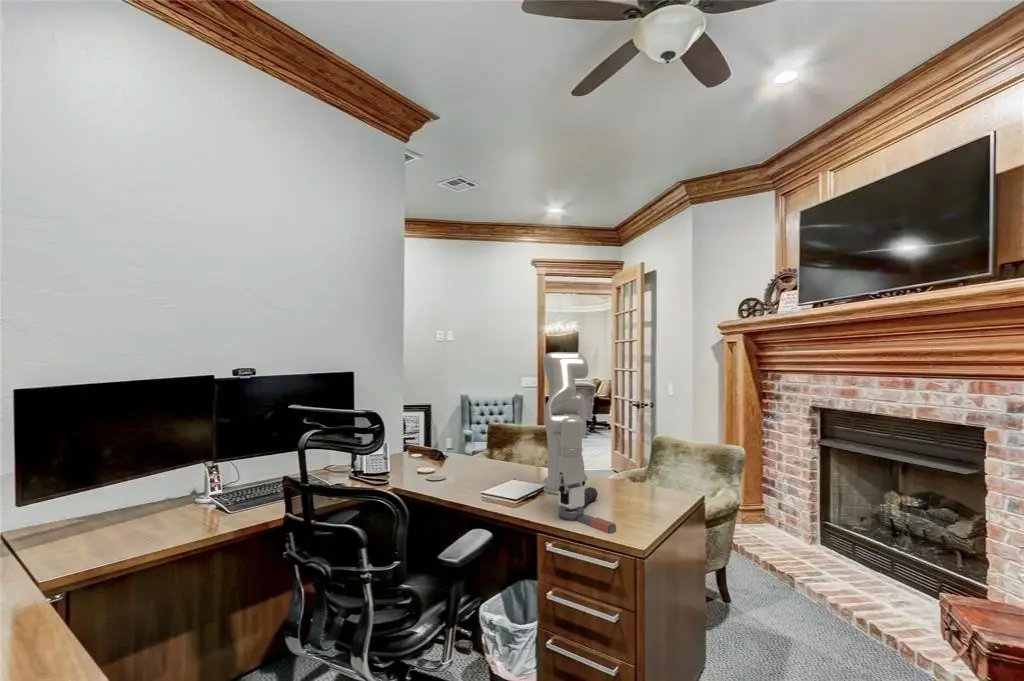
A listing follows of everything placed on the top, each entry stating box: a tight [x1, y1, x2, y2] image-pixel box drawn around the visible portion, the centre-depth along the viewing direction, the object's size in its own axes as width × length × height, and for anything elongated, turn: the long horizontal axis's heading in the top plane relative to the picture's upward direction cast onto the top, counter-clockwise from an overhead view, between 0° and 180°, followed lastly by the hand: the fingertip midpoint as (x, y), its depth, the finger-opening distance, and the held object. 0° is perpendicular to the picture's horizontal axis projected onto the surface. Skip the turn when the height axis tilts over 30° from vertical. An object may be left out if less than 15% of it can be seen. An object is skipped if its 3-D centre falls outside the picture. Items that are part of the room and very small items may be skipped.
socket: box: [558, 484, 585, 509], centre depth 176 cm, size 7×7×7 cm
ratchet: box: [558, 505, 617, 534], centre depth 170 cm, size 24×9×7 cm, turn 38°
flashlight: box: [581, 486, 599, 508], centre depth 192 cm, size 15×5×5 cm, turn 148°
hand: (571, 501), depth 176 cm, fingers closed on socket, 6 cm apart
